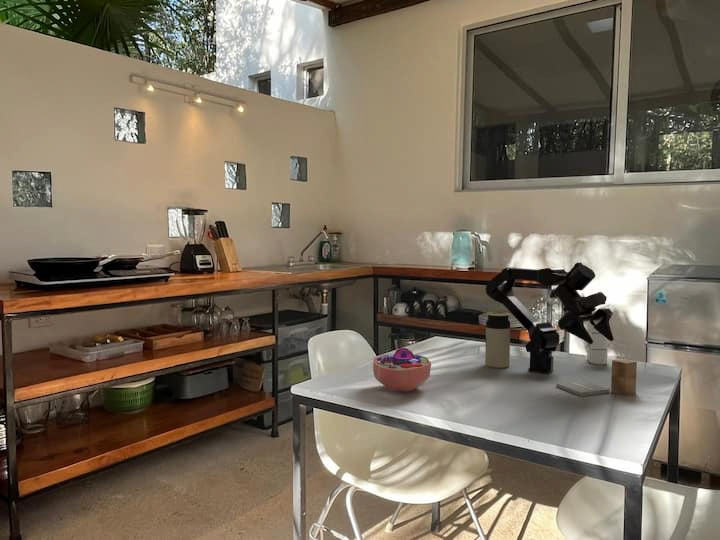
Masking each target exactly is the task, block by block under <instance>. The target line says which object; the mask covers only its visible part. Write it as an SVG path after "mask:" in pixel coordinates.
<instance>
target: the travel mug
mask: <svg viewBox="0 0 720 540" xmlns="http://www.w3.org/2000/svg"><path fill="white" fill-rule="evenodd" d="M486 315H487V320H486V322H485V352H484V353H485V355H484V356H485V357H484V358H485V359H484V360H485V362H484V363H485V366H487V367H489V368H493V369H494V368H495V369H504V368H505V369H506V368H508V367H510V364H511V363H510V361H511V360H510V359H511V358H510V355H511V353H510V352H511V348H510V346H511V322H510V320H509V317H510V313H509V312H505V311H489V312H488V311H487V313H486Z"/></svg>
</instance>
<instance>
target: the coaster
mask: <svg viewBox="0 0 720 540" xmlns="http://www.w3.org/2000/svg"><path fill="white" fill-rule="evenodd" d="M555 384H556V388H558V389H561V390H564V391H566V392H569V393H572V394H575V395H577V396H579V397H584V396H593V395H602V394H603V395H604V394H610V392H611V388H610V389H609V388H607V387H603V386H601V385H598V384H595V383H592V382H590V381H586V380H578V381H568V382H565V381H564V382H557V383H555Z"/></svg>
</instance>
